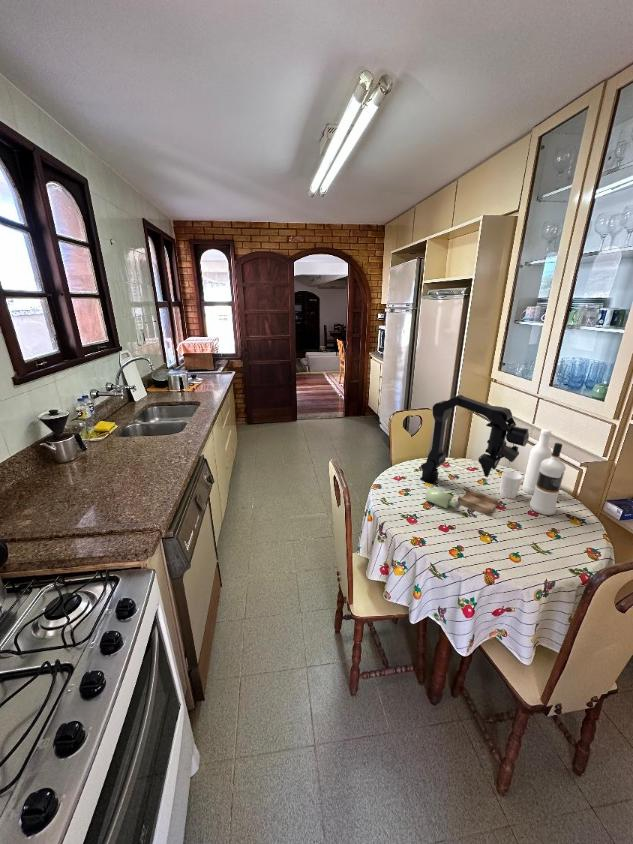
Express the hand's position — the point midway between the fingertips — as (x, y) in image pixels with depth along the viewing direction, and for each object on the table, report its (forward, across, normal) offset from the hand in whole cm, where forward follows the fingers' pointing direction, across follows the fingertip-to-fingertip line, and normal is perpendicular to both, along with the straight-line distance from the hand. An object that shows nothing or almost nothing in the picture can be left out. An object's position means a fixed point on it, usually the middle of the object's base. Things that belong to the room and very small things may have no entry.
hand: (490, 472), depth 145 cm
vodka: (+14, +10, -20) cm, 26 cm away
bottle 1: (+14, -15, +12) cm, 24 cm away
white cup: (+14, +14, -6) cm, 21 cm away
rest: (+14, -4, +2) cm, 15 cm away
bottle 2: (+14, +24, -13) cm, 31 cm away
